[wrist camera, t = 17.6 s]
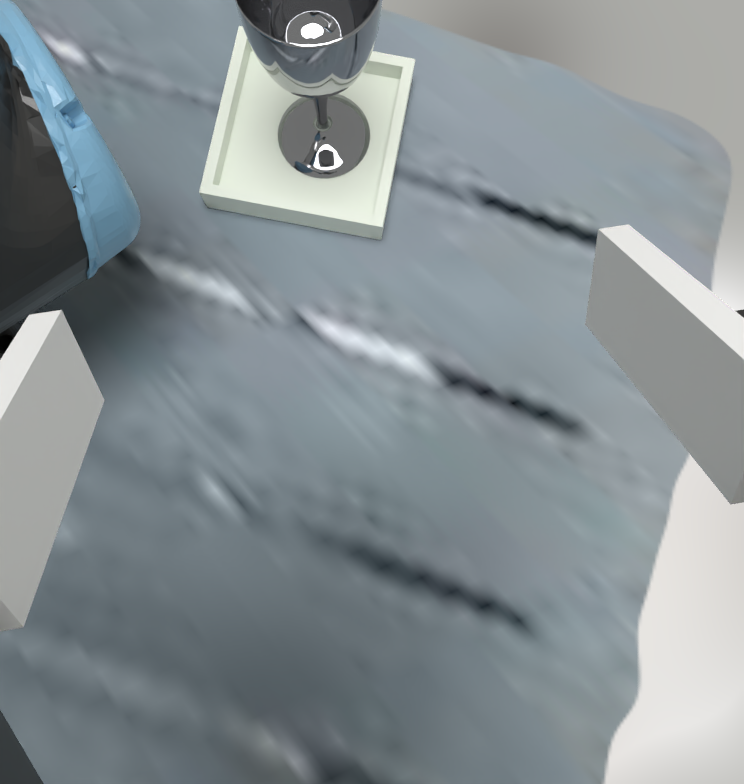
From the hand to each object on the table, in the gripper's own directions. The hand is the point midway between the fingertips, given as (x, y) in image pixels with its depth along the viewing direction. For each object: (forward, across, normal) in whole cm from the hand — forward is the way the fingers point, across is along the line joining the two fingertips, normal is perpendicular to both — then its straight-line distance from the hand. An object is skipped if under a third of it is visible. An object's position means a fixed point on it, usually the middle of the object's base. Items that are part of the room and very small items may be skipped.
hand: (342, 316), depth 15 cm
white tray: (+36, 0, -5) cm, 37 cm away
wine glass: (+36, +1, -5) cm, 36 cm away
